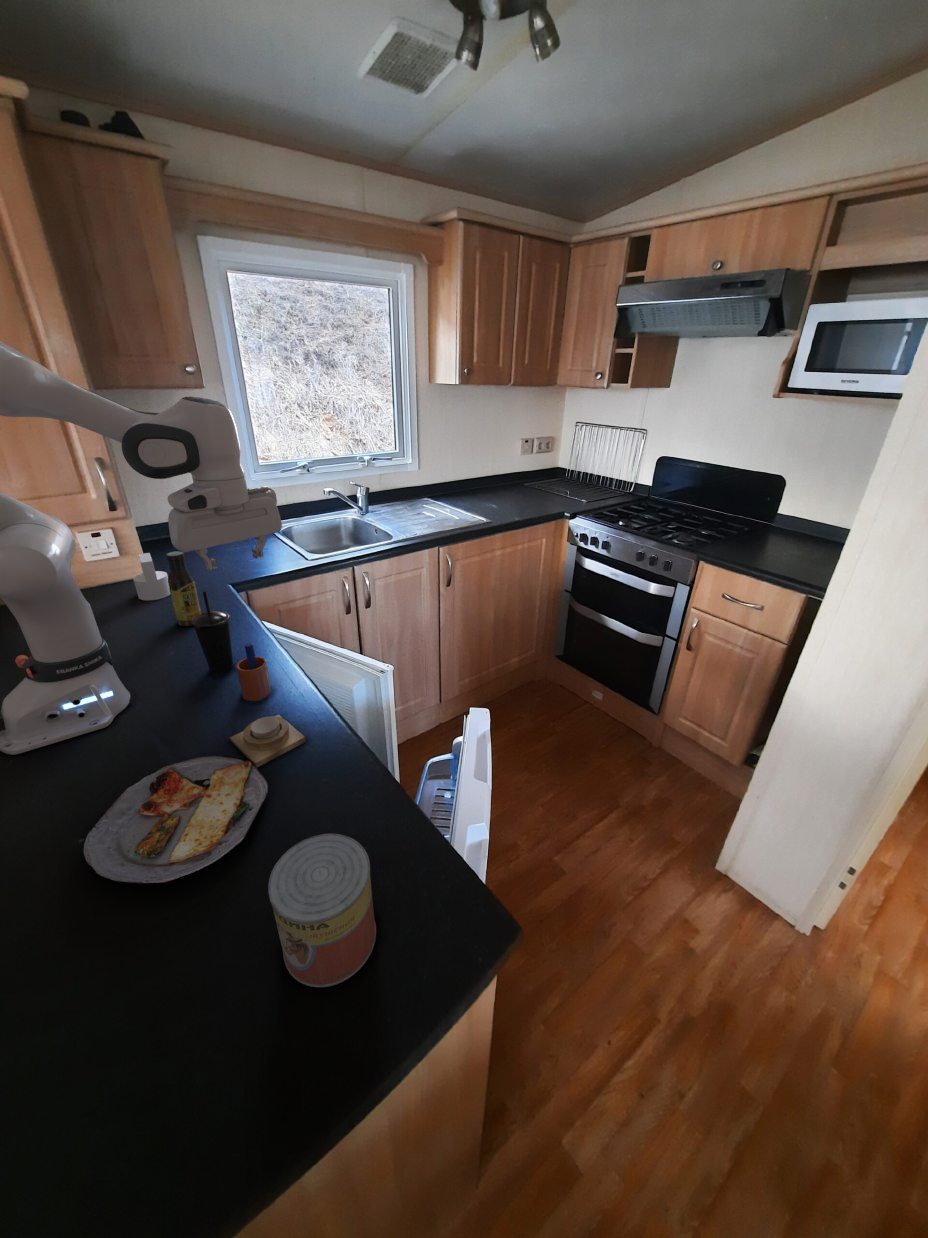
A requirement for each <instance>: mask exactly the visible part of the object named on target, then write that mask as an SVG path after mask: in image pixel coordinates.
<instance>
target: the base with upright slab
mask: <svg viewBox="0 0 928 1238" xmlns="http://www.w3.org/2000/svg"><path fill="white" fill-rule="evenodd" d="M138 560H139V563H140V566H141V570H142V573H138V574H137V575H135V576H134V577H132V581H133V583H134V588H135V590H136V595H137V597H138V599H139V600H142V601H157V600H160V599H164V598H167V597H168V596H171V594H170V590H169V588H170V587H169V583H168V577H169V575H168V573H167V572H166V571H161V570H156V569H155V565H154V562H153V558H152V556H151V553H150V552H145V553H139V554H138Z"/></svg>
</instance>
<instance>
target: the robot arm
mask: <svg viewBox="0 0 928 1238" xmlns="http://www.w3.org/2000/svg"><path fill="white" fill-rule="evenodd" d="M0 416H2V417H7V418H44V419H52V420H58V421H62V422H67V423H70V424H73V425H76V426H78V427H81V428H83V429H85V430H88V431H91V432H94V433H96V434H98V435H101V436H104V437H106V438H108V439H111V440H114V441H116V442H118V443H121V453H122V456H123V458H124V460H125V462H126V463H127V464H128V466H129V467H130V468H131V469H132V470H134V471H135V472H136V473H138V474H139V475H141V476H143V477H146V478H149V479H154V480H166V479H171V478H174V477H178V476H182V475H186V474H191V478H192V483H190V484H188V485H186V486H184V487H182V488H181V489H178V490H176V491H174V492H172V493H170V494H169V495H167V503H168V504H169V506H170V507H172V509H170V511H169V513H168V516H167V517H168V518H167V521H168V530H169V537H170V542H171V545H172V546H173V547H174V548H175V549H177V551H181V552H183V553H190V552H194V551H195V553H196V554H197V555H198V556H199V558H201V559H202V560H203V561H204V567H205V568H206V570H208V571H212V570H216V569H218V565H217V560H216V559H214V558H213V557H210V558H209V557H208V555H206V554H208V553H209V552H208V551H209V550H208V548H212V547H218V546H221V545H226V544H232V543H235V542H239V541H245V540H249V539H255V540H257V541H256V545H255V547H253V548H251V552H252V557H253V558H254V559H256V560H257V559H261V558H264V557H265V555H264V548H265V546H266V543H267V535H268V536H269V535H272V534H276V533H280V531H281V530H282V528H283V524H282V519H281V515H280V510H279V509H278V506H277V504H278V499H277V493H276V492H275V490H274V489H273V488H271V487H268V486H266V485H263V486H260V487H259V486H258V487H250V488H248V485H247V479H246V473H245V471H244V469H243V466H242V464H241V463H242V462H241V454H242V453H241V452H242V451H241V443H240V438H239V434H238V430H237V429H238V428H237V426H236V422H235V419H234V416H233V414H232V412H231V410H230V409H229V408H228V407H227V406H226V405H225V404H223V403H222V402H220V401H218V400H215V399H214V400H213V399H210V398H205V397H198V396H196V397H195V396H184V397H181V398H180V399H179V400H178V401H177V402H175V403H174V404H173V405H172V406H170V407H168V408H166V409H165V410H163V411H161V412H148V411H141V410H136V409H132V408H130V407H127V406H125V405H123V404H121V403H118V402H116V401H114V400H112V399H109V398H106V397H105V396H102V395H100V394H98V393H95V392H93V391H92V390H89V389H86V388H84V387H82V386H80V385H77V384H75V383H73V382H71V381H69V380H68V379H65V378H64V377H62V376H60V375H59V374H57V373H55V372H54V371H52V370H50V369H49V368H47V367H45V366H44V365H42V364H40V363H39V362H37V361H35V360H33V358H31V357H29V356H28V355H25V354H24V353H22V352H21V351H19V350H17V349H16V348H14V347H12V346H10V345H9V344H7V343H5V342H4V341H1V340H0ZM76 547H77V545H76V540H75V537H74V535H73V532H72V531H71V529H70V527H69V526H68V525H67V524H66V523H65V522H64V521H63V520H61V519H59V518H58V517H56V516H53V515H51V514H47V513H44V512H42V511H40V510H38V509H36V508H34V507H32V506H30V505H28V504H26V503H24V502H22V501H20V500H18V499H16V498H14V497H12V496H10V495H8V494H6V493H3V492H2V491H0V599H1V600H2V602H3V603H4V604H5V606H6V607H7V609H8V610H9V611H10V612H11V614H12V616H13V617H14V618H15V620H16V622H17V624H18V626H19V628H20V630H21V632H22V635H23V637H24V640H25V641H26V645H27V647H28V649H29V651H30V654H31V655H30V656H29V657H28V655H25V654H21V655H20V654H19V655H18V656H16V657H15V659H14V662H15V664H16V666H17V667H18V668H21V669H22V671H23V674H24V676H25V677H24V678H23V679H22V680H21V681H20V682H19V683H18V684H17V685H16V686H15V687H14V688H13V689H12V690H10V692H9V693H8V694H6V696H5V697H4V698H3V700H2V703H1V707H0V752H2V753H3V754H6V755H11V756H13V755H14V756H15V755H20V754H23V753H27V752H30V751H33V750H36V749H39V748H43V747H46V746H49V745H52V744H55V743H60V742H63V741H65V740H68V739H72V738H76V737H79V736H82V735H85V734H88V733H92V732H95V731H98V730H102V729H105V728H106V727H108V726H110V725H111V724H112V722H113V721H114V720H115V717H116V716H117V715H119V714H120V713H121V712H122V711H124V710H125V709H126V708H127V707H128V706H129V704H130V700H131V693H130V691H129V690H128V689H127V688H126V686H125V684H124V683H122V681H121V679H120V677H119V676H118V674H117V672H116V670H115V669H114V666H113V664H114V663H113V657H112V655H111V654H112V653H111V651H110V648H109V645H108V643H107V642H106V640H105V639H104V638H103V637H102V635H101V632H100V630H99V626H98V624H97V621H96V618H95V614H94V612H93V609H92V606H91V603H90V602H89V601H88V600H87V599H86V598H85V596H84V594H83V592H82V591H81V589H80V586H79V585H78V583H77V581H76V579H75V576H74V574H73V569H72V562H73V561H72V560H73V558H74V557H75V553H76Z"/></svg>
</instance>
